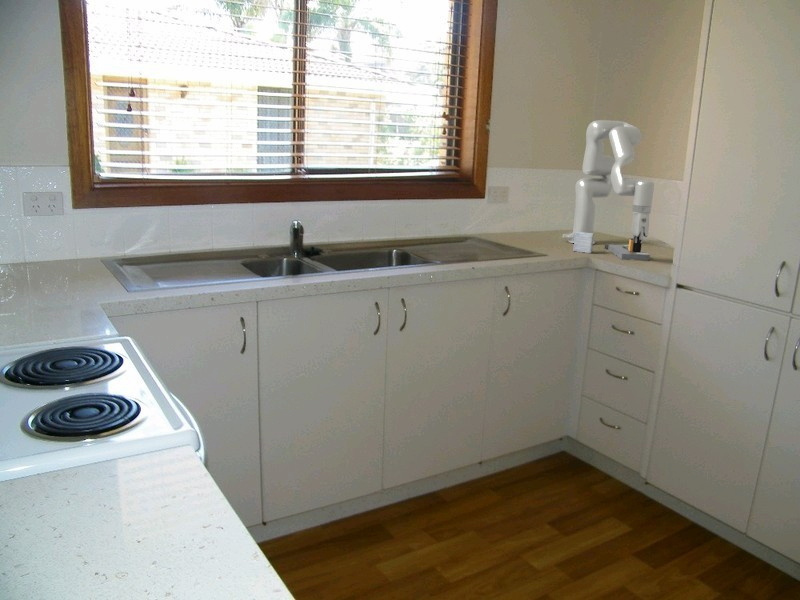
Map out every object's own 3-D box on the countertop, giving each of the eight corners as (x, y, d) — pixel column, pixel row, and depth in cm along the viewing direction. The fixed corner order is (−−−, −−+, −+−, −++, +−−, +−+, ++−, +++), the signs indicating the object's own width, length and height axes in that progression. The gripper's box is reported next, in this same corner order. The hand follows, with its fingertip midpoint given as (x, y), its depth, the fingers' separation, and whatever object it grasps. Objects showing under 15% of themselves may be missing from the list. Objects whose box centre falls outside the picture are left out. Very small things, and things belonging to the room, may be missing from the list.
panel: (621, 259, 306) (622, 253, 306) (608, 249, 330) (608, 244, 329) (649, 260, 306) (650, 254, 305) (633, 250, 329) (634, 245, 329)
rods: (606, 249, 330) (606, 245, 330) (604, 247, 334) (604, 244, 334) (636, 250, 330) (636, 247, 330) (633, 249, 334) (634, 245, 333)
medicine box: (592, 252, 321) (594, 233, 319) (590, 253, 317) (592, 234, 315) (574, 250, 324) (576, 231, 322) (572, 251, 320) (574, 232, 318)
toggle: (629, 256, 311) (631, 238, 309) (627, 255, 313) (629, 237, 311) (635, 256, 311) (638, 238, 309) (634, 255, 313) (636, 238, 311)
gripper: (655, 212, 294) (650, 255, 298) (645, 208, 308) (640, 249, 313) (637, 211, 294) (632, 254, 298) (628, 207, 308) (623, 248, 313)
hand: (636, 251), depth 305 cm, fingers closed
